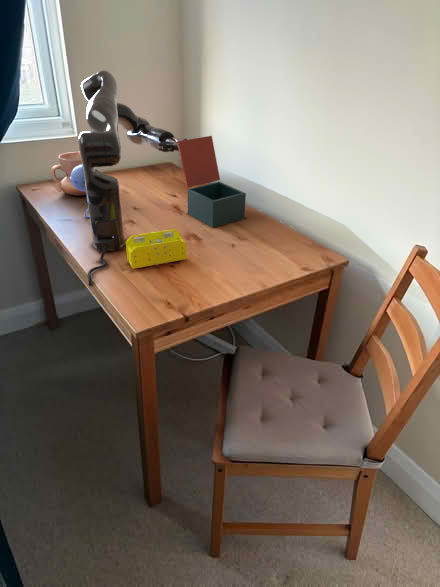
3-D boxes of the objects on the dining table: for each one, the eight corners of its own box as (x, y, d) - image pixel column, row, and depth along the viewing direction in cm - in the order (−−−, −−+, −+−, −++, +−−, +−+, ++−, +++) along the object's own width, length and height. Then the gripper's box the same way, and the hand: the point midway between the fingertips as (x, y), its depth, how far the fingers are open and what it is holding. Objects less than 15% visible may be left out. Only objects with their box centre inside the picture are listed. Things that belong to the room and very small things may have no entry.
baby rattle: (76, 223, 151) (68, 170, 142) (76, 214, 158) (68, 162, 149) (103, 221, 153) (96, 168, 144) (101, 212, 160) (95, 160, 151)
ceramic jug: (99, 183, 185) (95, 148, 177) (106, 195, 174) (101, 158, 166) (53, 188, 179) (46, 152, 171) (56, 201, 168) (50, 162, 160)
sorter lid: (211, 135, 158) (210, 136, 159) (178, 141, 151) (176, 141, 152) (220, 180, 163) (218, 180, 163) (188, 187, 155) (186, 187, 156)
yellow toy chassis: (180, 253, 135) (179, 227, 131) (187, 261, 131) (186, 235, 126) (127, 262, 130) (124, 235, 125) (132, 271, 125) (129, 244, 121)
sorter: (244, 218, 159) (245, 193, 154) (212, 227, 151) (213, 201, 146) (218, 205, 168) (219, 181, 163) (187, 213, 161) (187, 189, 156)
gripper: (144, 131, 167) (170, 141, 156) (174, 127, 174) (201, 136, 163) (145, 152, 171) (171, 163, 160) (175, 147, 178) (201, 157, 167)
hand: (186, 150), depth 161 cm, fingers closed
